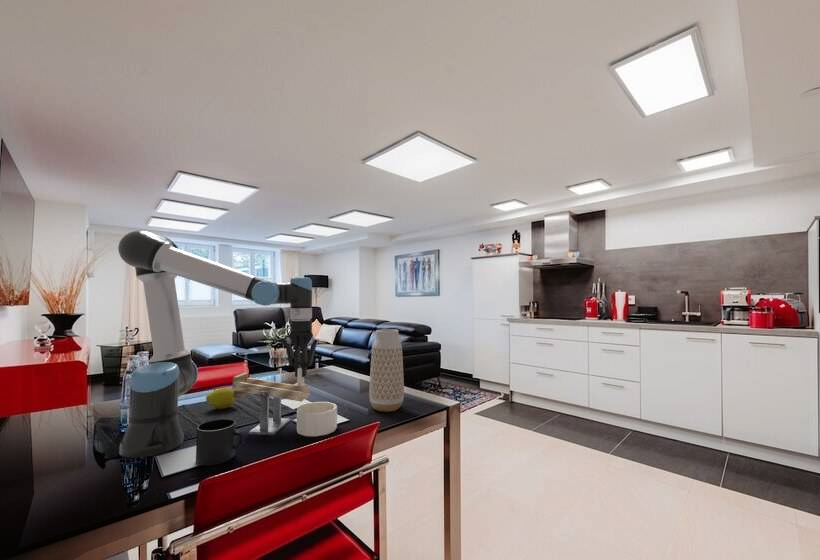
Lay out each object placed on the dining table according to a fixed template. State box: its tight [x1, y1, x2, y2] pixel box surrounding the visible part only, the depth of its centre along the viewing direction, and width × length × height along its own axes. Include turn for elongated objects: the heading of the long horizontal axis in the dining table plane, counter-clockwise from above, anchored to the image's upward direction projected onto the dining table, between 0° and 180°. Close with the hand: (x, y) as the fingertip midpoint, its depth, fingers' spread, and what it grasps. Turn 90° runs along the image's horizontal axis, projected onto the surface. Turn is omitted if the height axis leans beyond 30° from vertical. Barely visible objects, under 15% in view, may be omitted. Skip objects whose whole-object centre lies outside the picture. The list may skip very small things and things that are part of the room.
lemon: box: [205, 387, 238, 410], centre depth 139 cm, size 11×8×8 cm
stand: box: [248, 391, 291, 436], centre depth 120 cm, size 8×13×13 cm, turn 176°
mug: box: [195, 418, 245, 467], centre depth 97 cm, size 9×12×9 cm
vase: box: [368, 328, 405, 413], centre depth 141 cm, size 14×14×31 cm
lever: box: [231, 372, 311, 402], centre depth 124 cm, size 24×15×7 cm, turn 85°
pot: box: [296, 401, 338, 437], centre depth 119 cm, size 13×13×7 cm
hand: (300, 385), depth 127 cm, fingers closed
